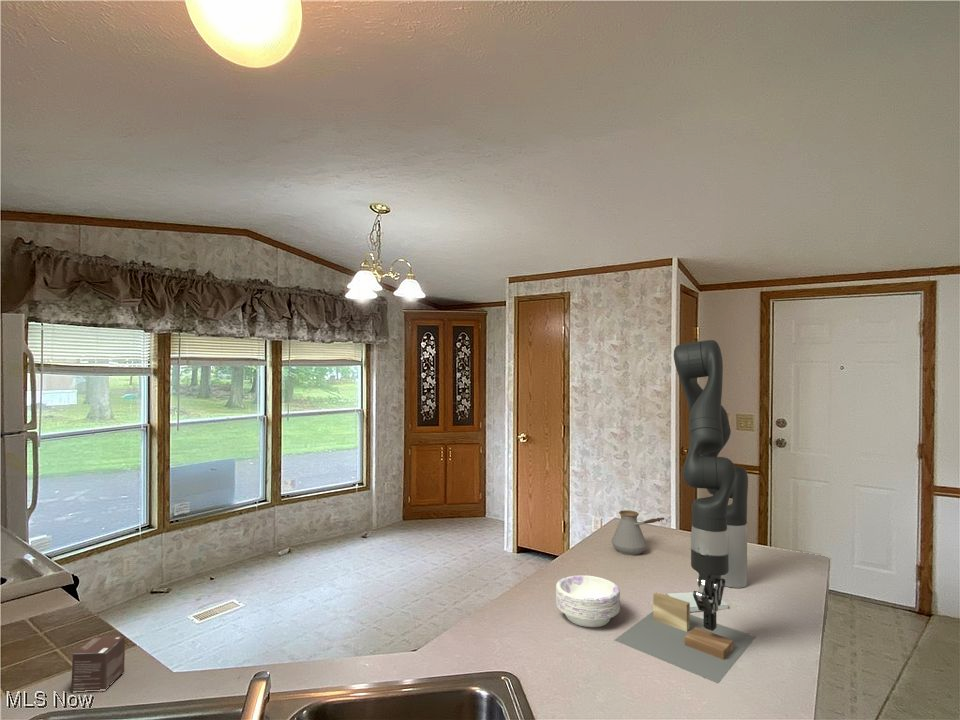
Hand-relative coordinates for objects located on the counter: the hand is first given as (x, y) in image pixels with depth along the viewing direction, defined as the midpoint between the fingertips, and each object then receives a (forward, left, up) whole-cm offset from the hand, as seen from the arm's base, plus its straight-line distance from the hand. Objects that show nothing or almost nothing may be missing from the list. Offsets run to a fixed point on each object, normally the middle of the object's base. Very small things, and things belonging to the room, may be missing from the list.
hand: (710, 628), depth 108 cm
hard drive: (-18, -10, -4) cm, 21 cm away
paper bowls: (+8, -26, -4) cm, 28 cm away
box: (+96, -78, -4) cm, 124 cm away
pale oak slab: (-3, -10, -4) cm, 11 cm away
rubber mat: (+1, -5, -4) cm, 7 cm away
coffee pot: (-41, -37, -4) cm, 56 cm away
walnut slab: (-2, 0, -3) cm, 4 cm away
